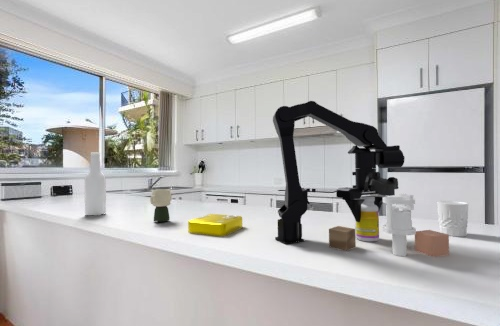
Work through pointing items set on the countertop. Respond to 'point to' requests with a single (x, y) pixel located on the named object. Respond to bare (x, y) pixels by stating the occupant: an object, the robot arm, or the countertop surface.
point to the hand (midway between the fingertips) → (366, 220)
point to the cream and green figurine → (161, 204)
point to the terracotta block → (432, 243)
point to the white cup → (453, 217)
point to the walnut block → (342, 238)
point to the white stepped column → (399, 221)
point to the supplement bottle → (368, 221)
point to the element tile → (215, 224)
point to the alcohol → (95, 187)
